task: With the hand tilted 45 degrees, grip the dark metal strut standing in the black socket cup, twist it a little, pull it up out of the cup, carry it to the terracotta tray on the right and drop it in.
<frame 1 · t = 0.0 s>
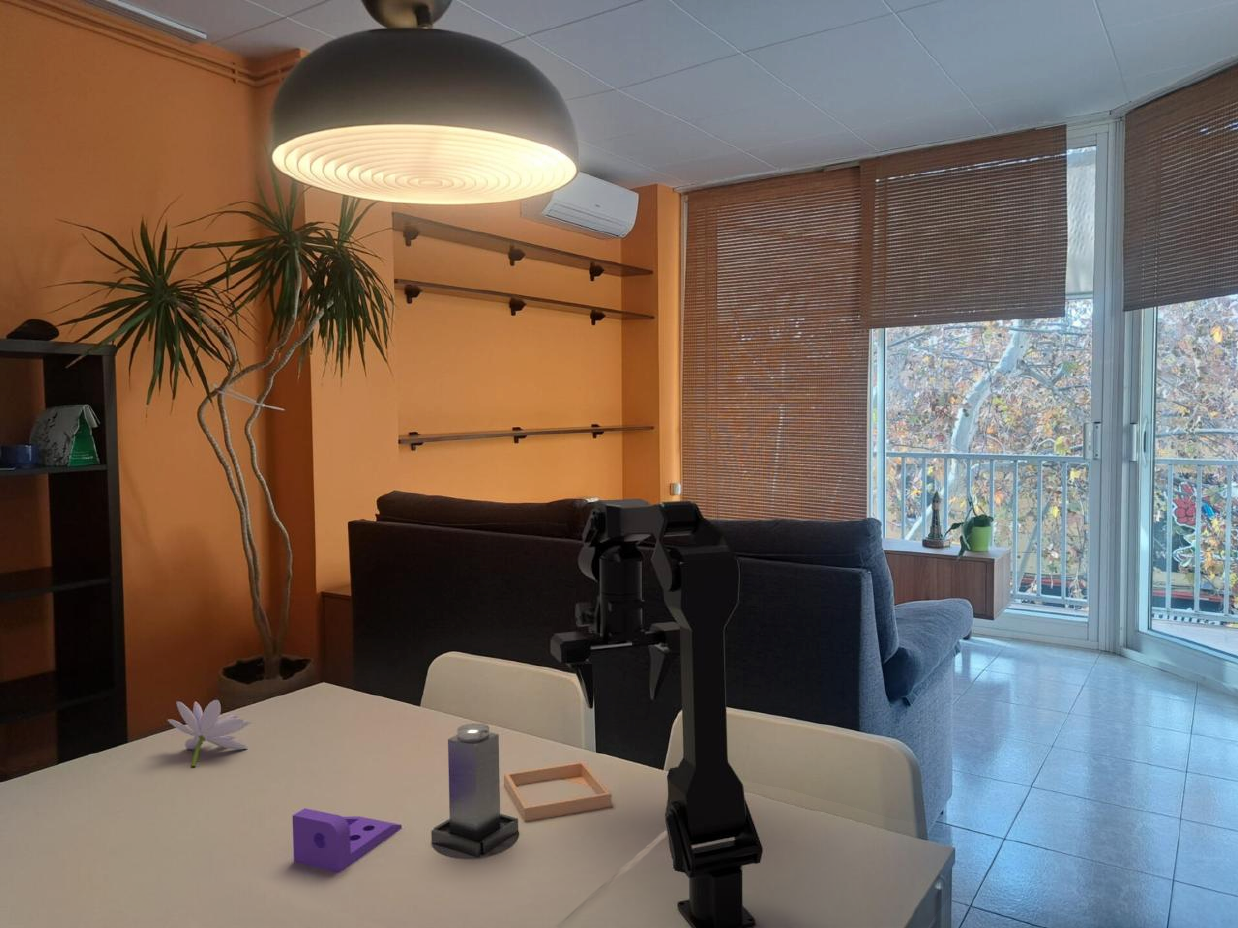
hand: (622, 703, 120), 15 cm above the table, tool pointing down, fingers open, 9 cm apart
water lily: (213, 756, 142), on the table
tray: (556, 800, 124), on the table
bracket: (350, 854, 110), on the table
socket cup: (475, 842, 112), on the table
strut: (475, 836, 112), point 1 cm above the table, touching socket cup
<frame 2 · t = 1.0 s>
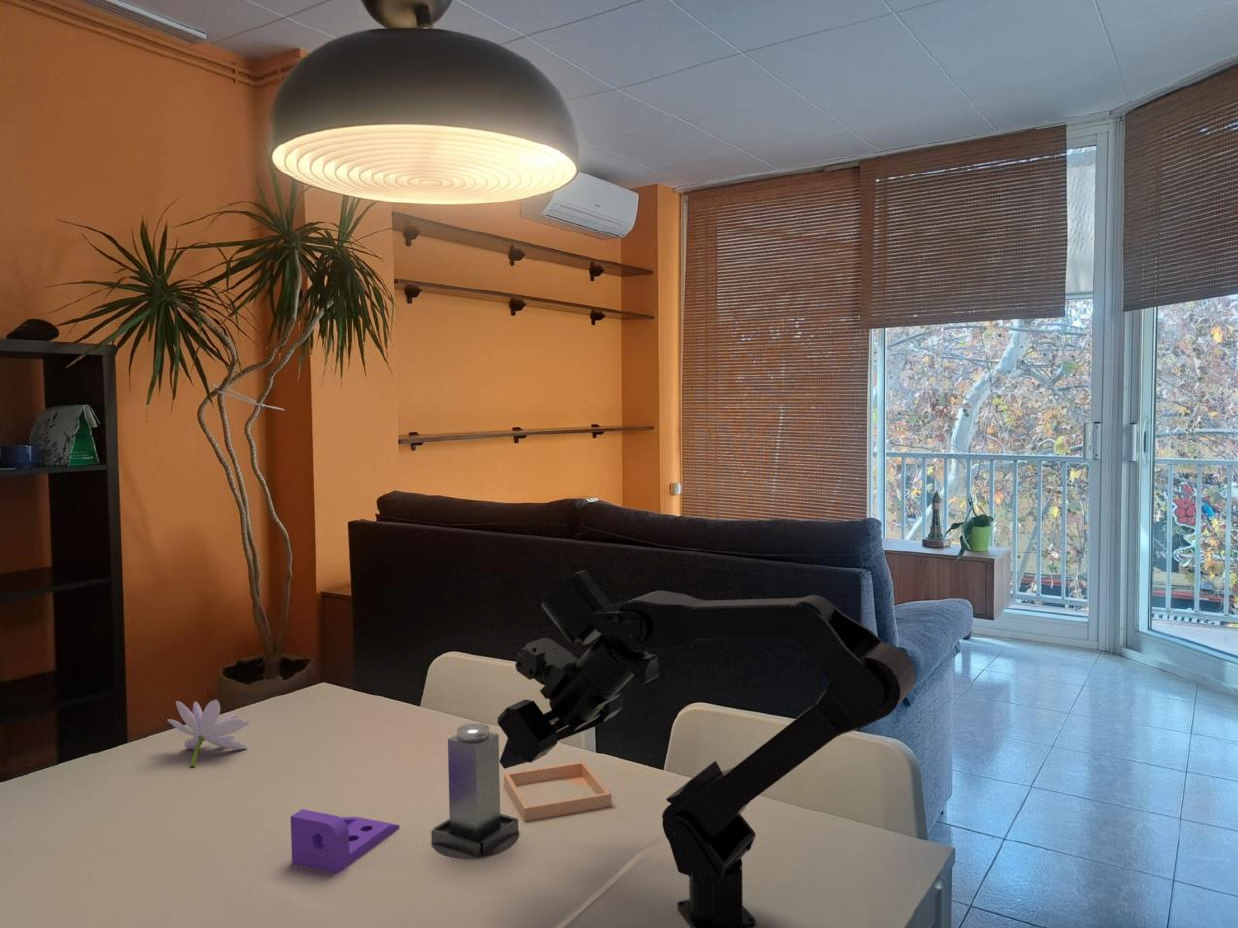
hand: (526, 751, 107), 13 cm above the table, tool tilted 45°, fingers open, 9 cm apart
nothing on the table moved.
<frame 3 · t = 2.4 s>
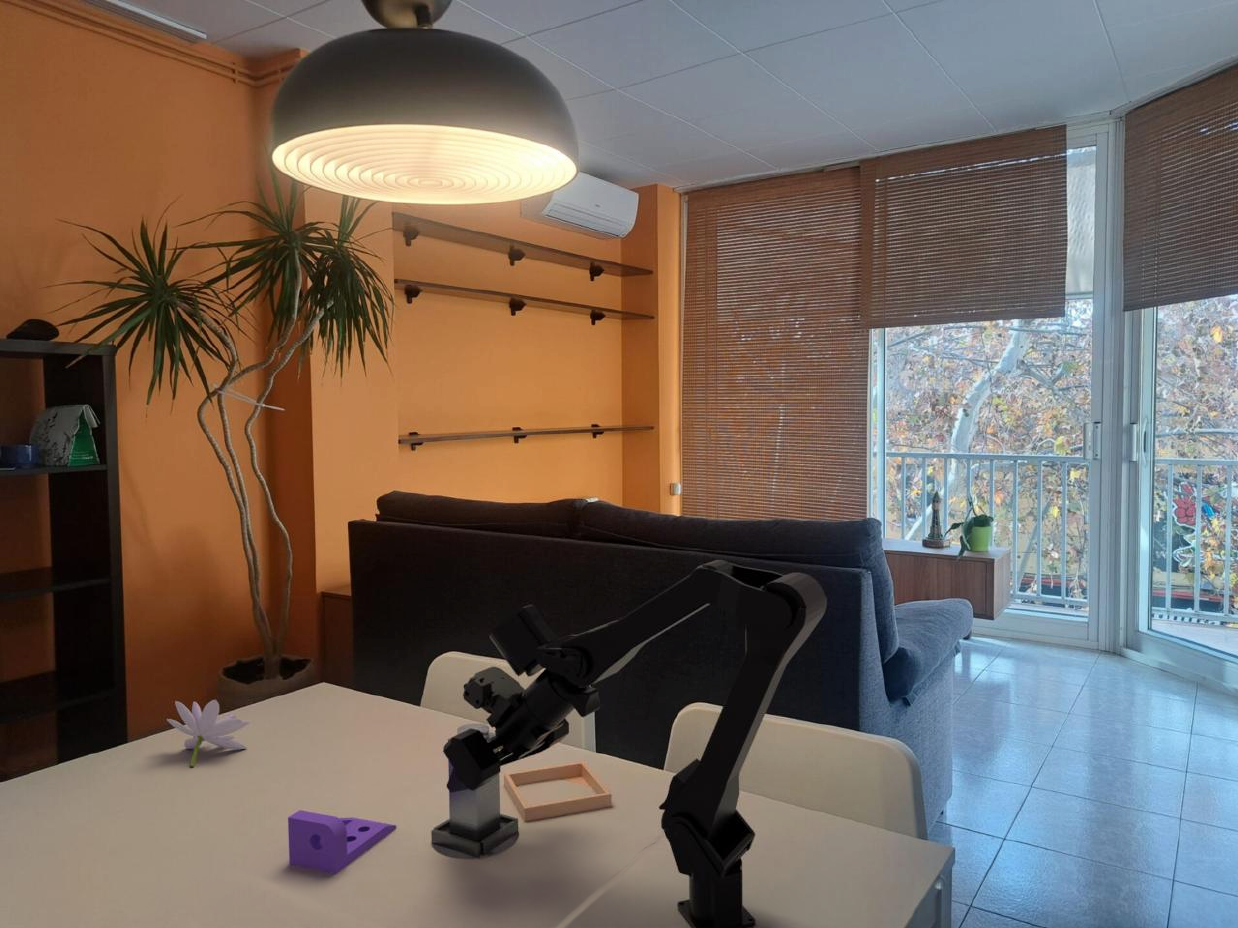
hand: (473, 775, 111), 9 cm above the table, tool tilted 45°, fingers open, 9 cm apart
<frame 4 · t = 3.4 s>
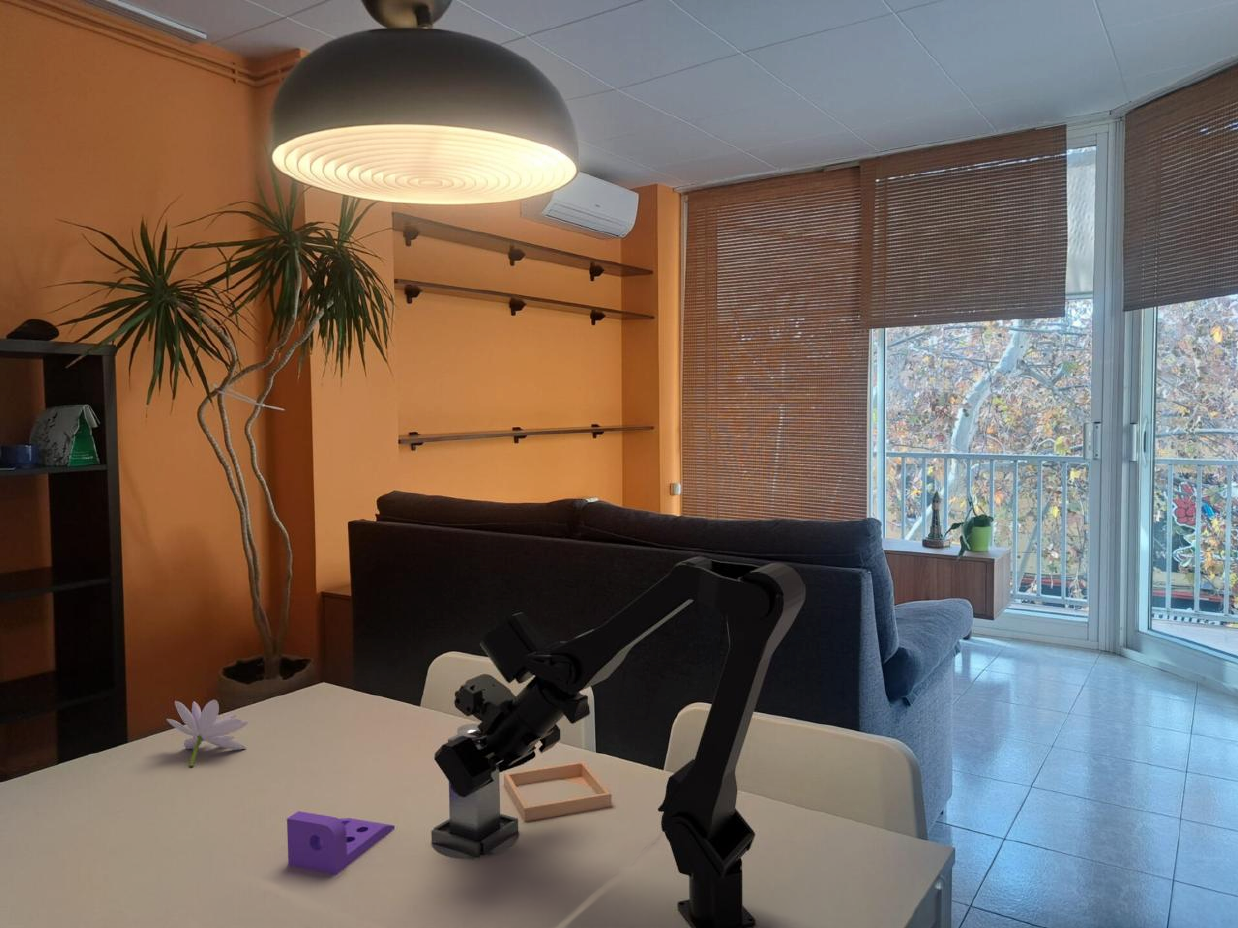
hand: (465, 782, 112), 8 cm above the table, tool tilted 45°, fingers closed on strut, 4 cm apart
strut: (475, 836, 112), point 1 cm above the table, touching gripper, socket cup
everything else where it was.
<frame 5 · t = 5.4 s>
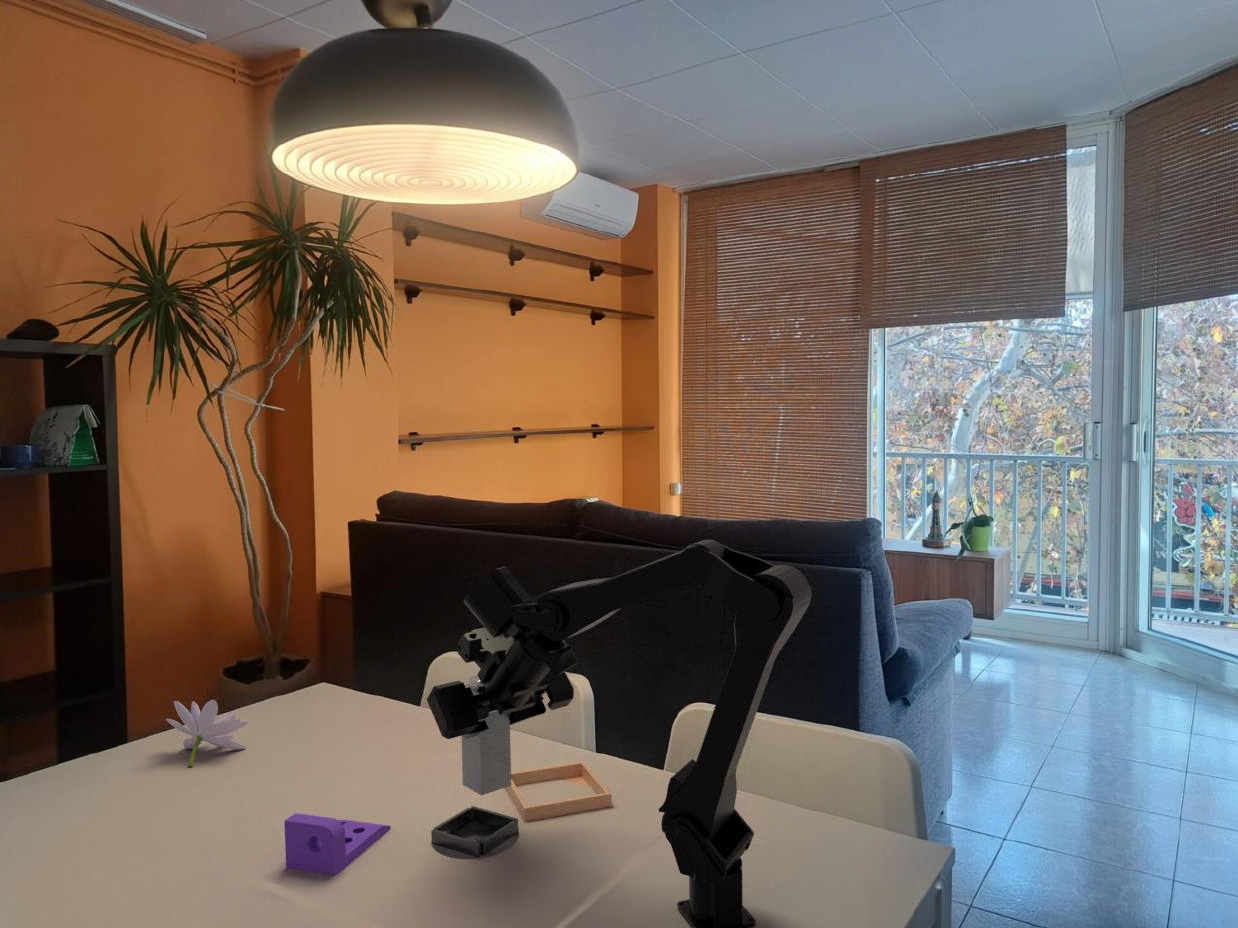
hand: (480, 730, 114), 13 cm above the table, tool tilted 45°, fingers closed on strut, 4 cm apart
strut: (487, 784, 114), point 7 cm above the table, touching gripper
when the fingers open (8 cm above the table, at t = 7.4 s): strut drops 1 cm, resting on tray.
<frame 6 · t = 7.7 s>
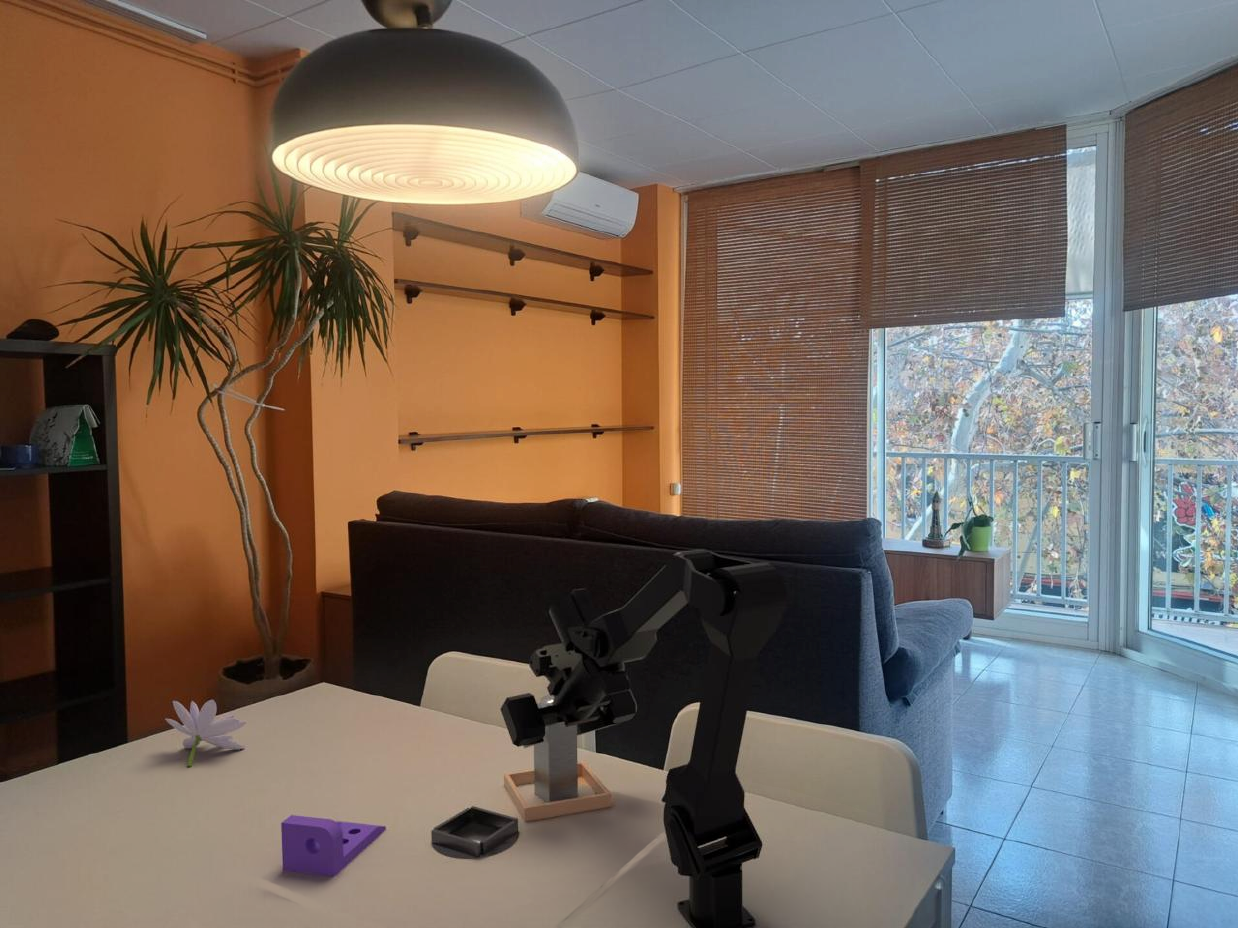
hand: (550, 738, 124), 9 cm above the table, tool tilted 45°, fingers open, 8 cm apart
strut: (556, 796, 124), point 1 cm above the table, touching tray
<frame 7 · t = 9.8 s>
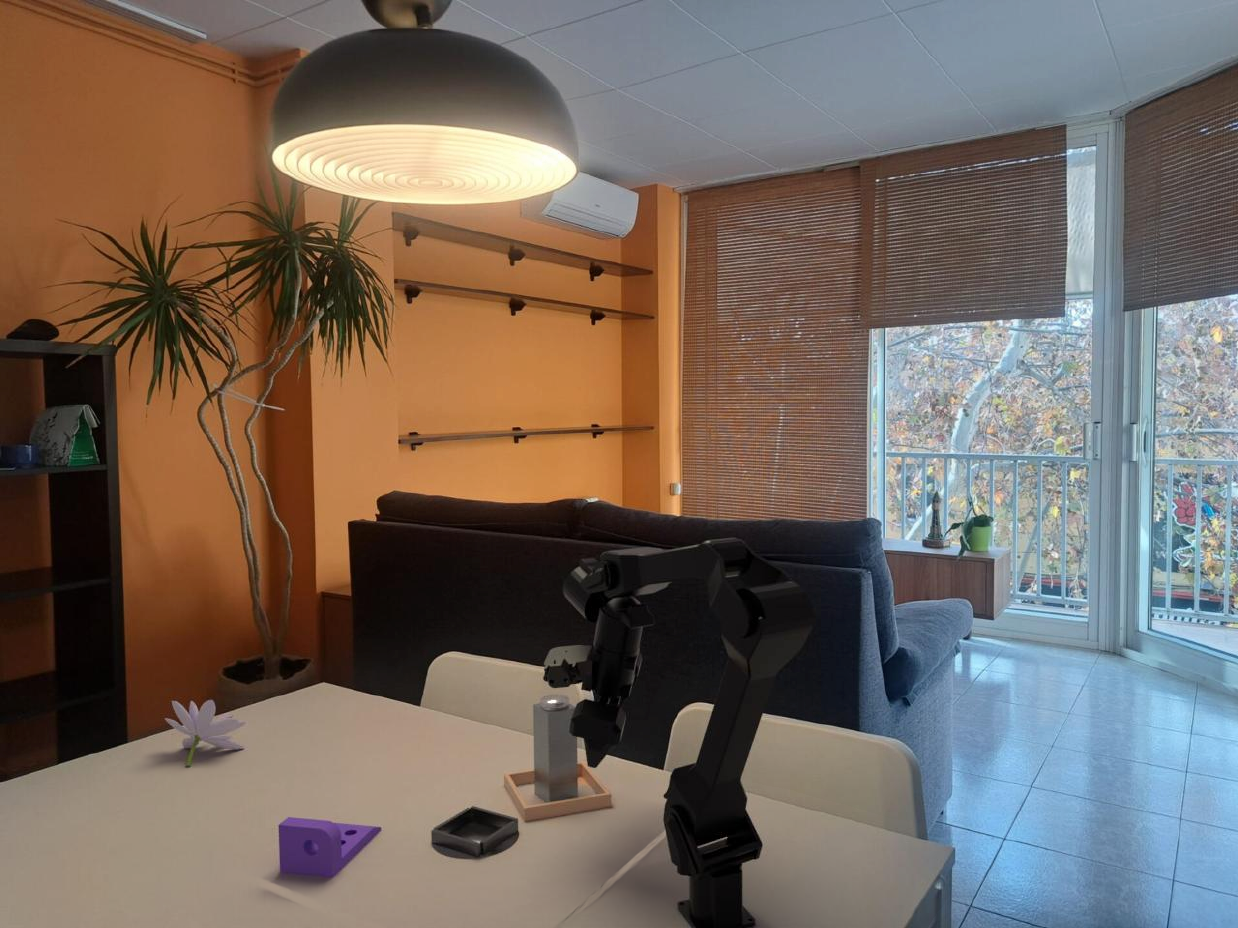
hand: (598, 744, 115), 11 cm above the table, tool tilted 20°, fingers open, 9 cm apart
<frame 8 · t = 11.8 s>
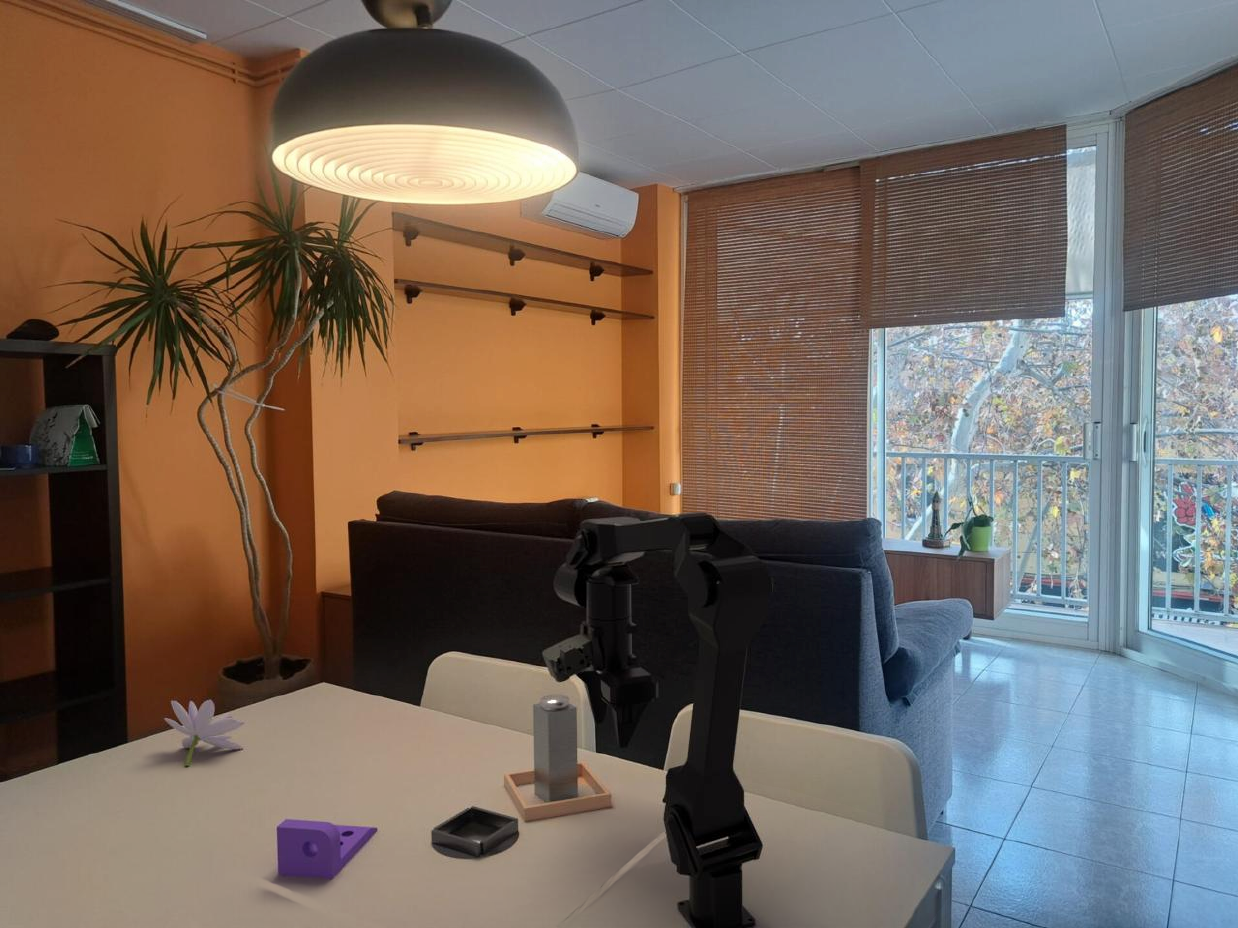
hand: (610, 734, 113), 13 cm above the table, tool pointing down, fingers open, 9 cm apart
at the end: strut inside the target area on the tray (0.0 cm from its centre), point 0.6 cm above the tray's base; the gripper is holding nothing; strut moved 15.3 cm from its start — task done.
